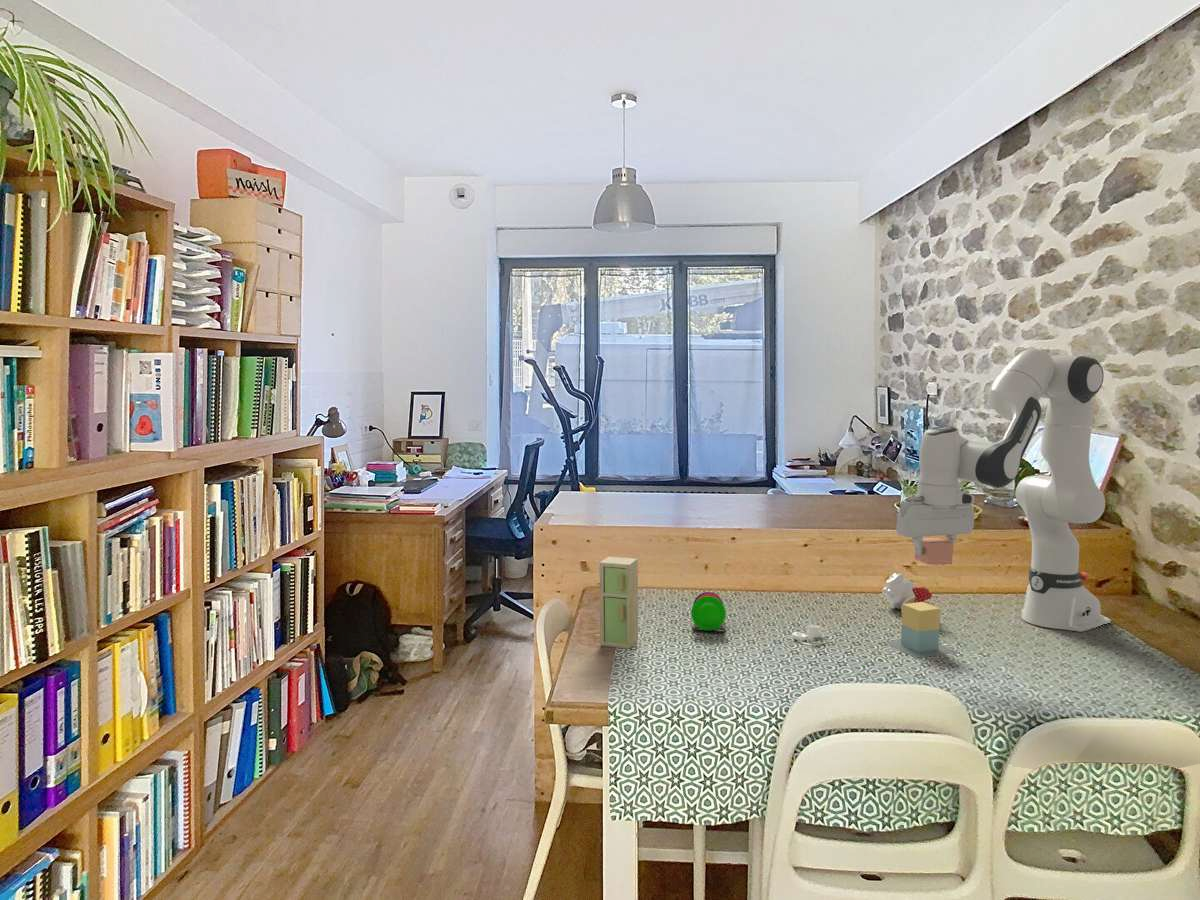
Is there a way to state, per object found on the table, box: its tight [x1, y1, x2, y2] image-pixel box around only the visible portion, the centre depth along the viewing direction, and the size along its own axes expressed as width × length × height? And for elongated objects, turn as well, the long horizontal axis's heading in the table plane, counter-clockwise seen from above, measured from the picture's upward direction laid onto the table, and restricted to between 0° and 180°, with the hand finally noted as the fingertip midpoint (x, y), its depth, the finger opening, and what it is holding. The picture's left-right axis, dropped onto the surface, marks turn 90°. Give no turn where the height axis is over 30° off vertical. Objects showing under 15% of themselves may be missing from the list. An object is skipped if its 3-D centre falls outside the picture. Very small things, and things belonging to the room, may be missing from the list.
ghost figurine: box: [881, 573, 917, 610], centre depth 236 cm, size 9×9×10 cm
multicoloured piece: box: [690, 591, 727, 633], centre depth 220 cm, size 9×10×15 cm
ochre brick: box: [901, 602, 941, 632], centre depth 200 cm, size 6×6×5 cm
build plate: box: [882, 639, 957, 659], centre depth 201 cm, size 12×12×1 cm
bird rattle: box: [900, 586, 933, 614], centre depth 220 cm, size 6×11×9 cm
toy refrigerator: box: [599, 556, 639, 649], centre depth 205 cm, size 8×7×21 cm
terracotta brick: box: [914, 537, 955, 565], centre depth 197 cm, size 6×6×5 cm
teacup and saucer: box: [791, 623, 826, 647], centre depth 209 cm, size 9×8×4 cm
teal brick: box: [900, 624, 940, 652], centre depth 200 cm, size 6×6×5 cm
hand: (933, 553), depth 197 cm, fingers closed on terracotta brick, 6 cm apart
